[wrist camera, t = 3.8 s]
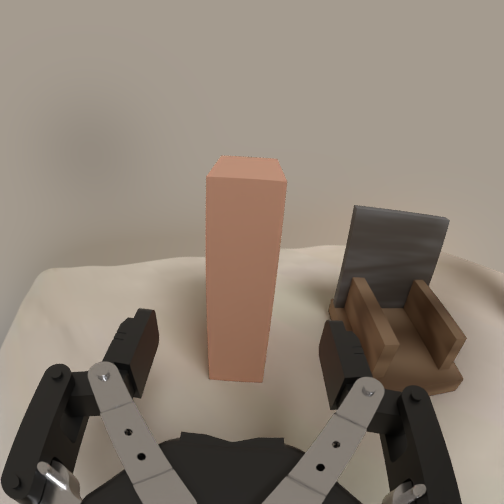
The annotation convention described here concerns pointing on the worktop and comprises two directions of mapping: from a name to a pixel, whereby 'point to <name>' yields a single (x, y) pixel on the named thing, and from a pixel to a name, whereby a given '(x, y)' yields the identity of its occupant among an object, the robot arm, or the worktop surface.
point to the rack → (398, 299)
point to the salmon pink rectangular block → (242, 263)
